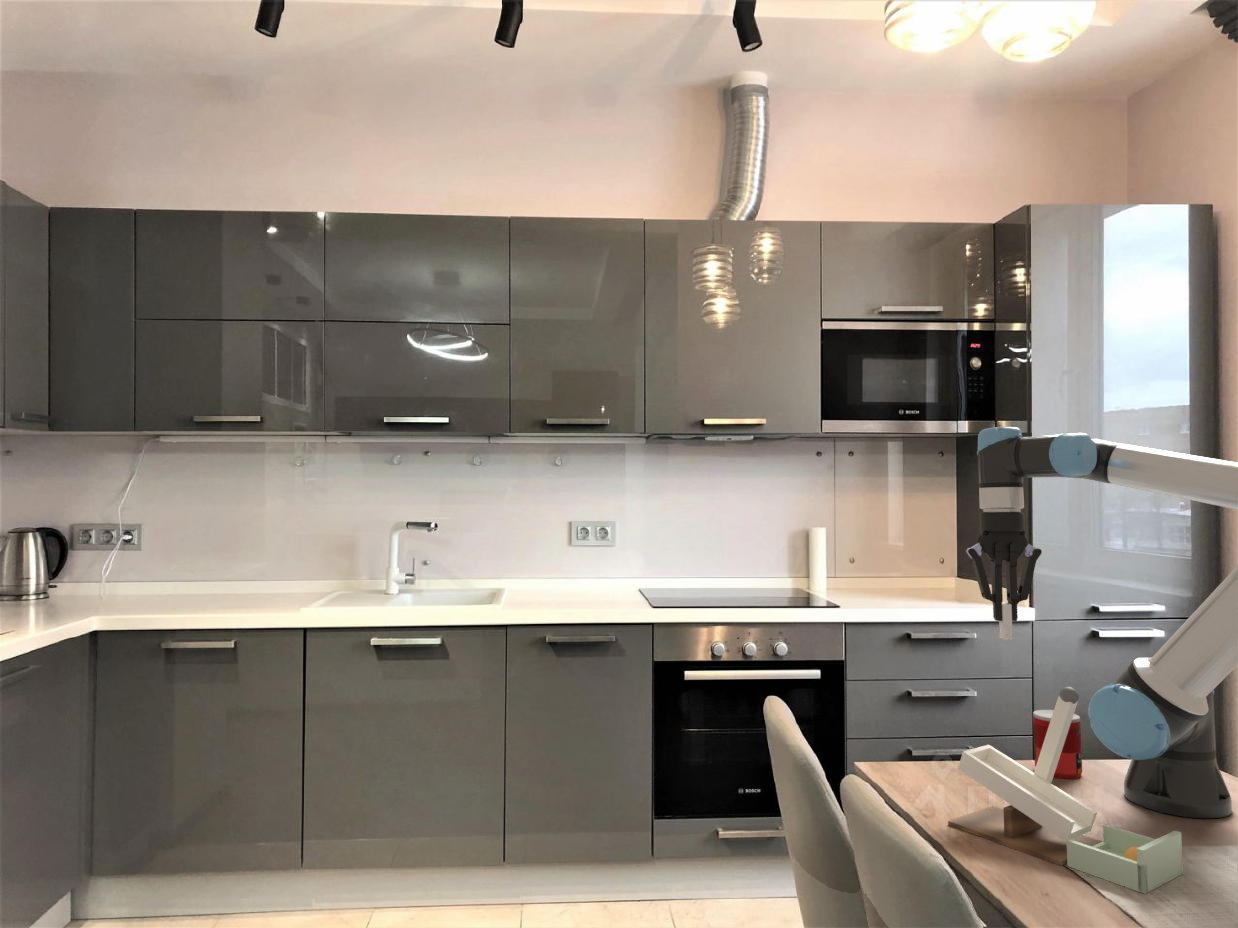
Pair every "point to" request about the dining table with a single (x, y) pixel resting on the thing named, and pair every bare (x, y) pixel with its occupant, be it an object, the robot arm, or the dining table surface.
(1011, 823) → the stand
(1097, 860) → the tray
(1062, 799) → the seesaw
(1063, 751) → the canned food
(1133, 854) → the ball
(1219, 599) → the robot arm
